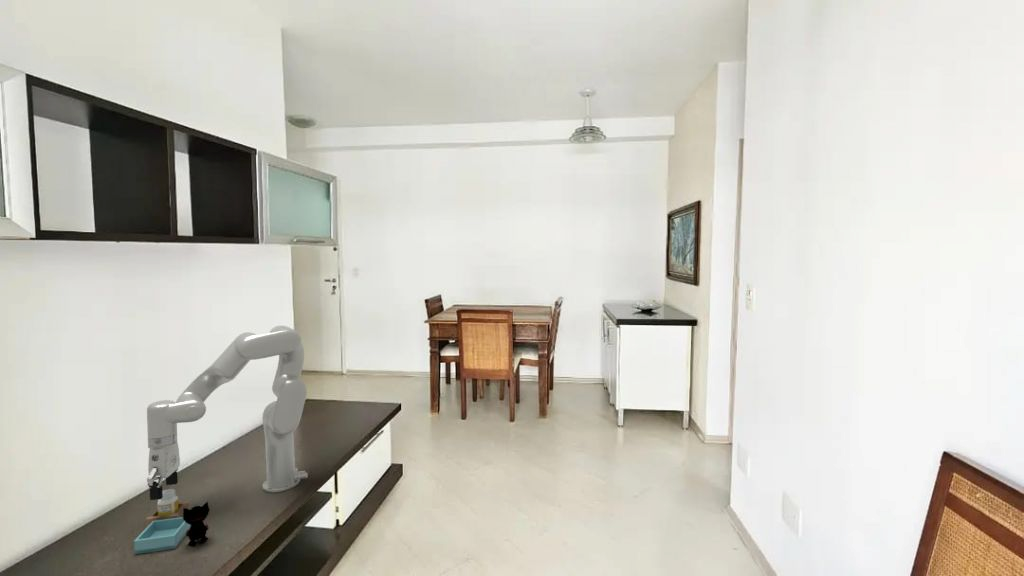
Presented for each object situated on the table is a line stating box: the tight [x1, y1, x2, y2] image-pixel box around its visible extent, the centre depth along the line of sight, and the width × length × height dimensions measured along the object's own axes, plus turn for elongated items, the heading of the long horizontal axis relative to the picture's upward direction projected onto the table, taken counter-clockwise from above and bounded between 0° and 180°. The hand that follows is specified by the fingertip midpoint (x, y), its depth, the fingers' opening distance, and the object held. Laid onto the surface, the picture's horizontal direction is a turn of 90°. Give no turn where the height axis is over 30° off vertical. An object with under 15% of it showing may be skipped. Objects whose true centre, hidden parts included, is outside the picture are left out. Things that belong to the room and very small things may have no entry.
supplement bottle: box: [156, 488, 179, 516], centre depth 146 cm, size 5×5×10 cm
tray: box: [133, 517, 191, 555], centre depth 136 cm, size 10×10×4 cm
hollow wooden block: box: [145, 500, 191, 529], centre depth 147 cm, size 9×9×4 cm
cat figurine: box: [183, 500, 210, 547], centre depth 135 cm, size 7×7×12 cm
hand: (164, 491), depth 146 cm, fingers open, 9 cm apart
